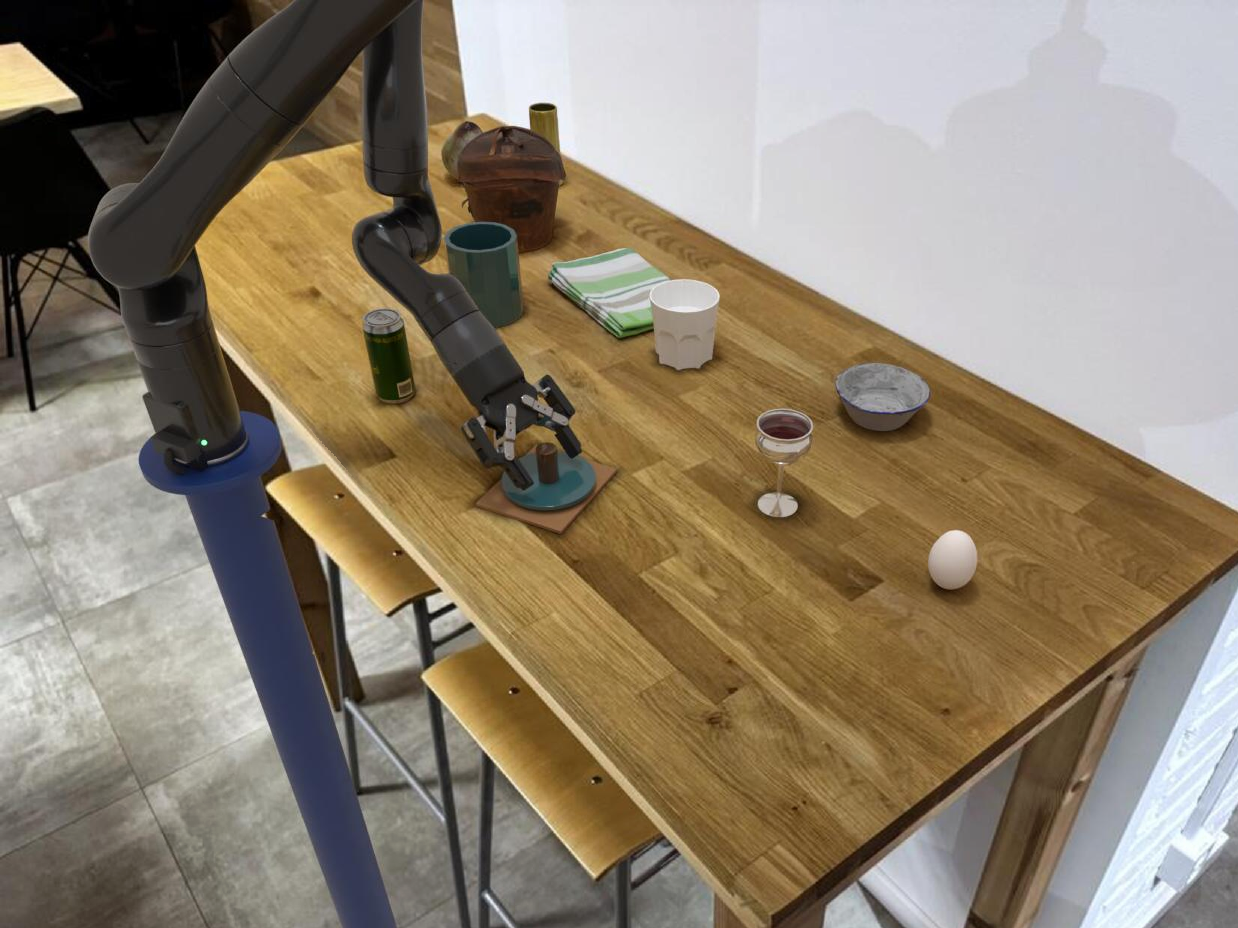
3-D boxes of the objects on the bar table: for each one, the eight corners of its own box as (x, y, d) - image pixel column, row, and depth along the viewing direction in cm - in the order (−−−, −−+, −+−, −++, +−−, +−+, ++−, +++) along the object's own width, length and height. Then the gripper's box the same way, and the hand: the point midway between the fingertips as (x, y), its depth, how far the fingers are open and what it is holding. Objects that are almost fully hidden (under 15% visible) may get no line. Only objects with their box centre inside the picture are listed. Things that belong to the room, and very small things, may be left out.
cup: (709, 336, 165) (711, 277, 158) (723, 370, 157) (726, 309, 151) (645, 341, 163) (644, 281, 156) (656, 376, 155) (656, 314, 149)
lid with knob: (565, 524, 128) (563, 487, 124) (483, 498, 132) (478, 460, 128) (612, 473, 136) (611, 436, 133) (534, 449, 140) (530, 412, 136)
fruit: (462, 193, 203) (454, 129, 195) (433, 178, 208) (424, 115, 200) (506, 179, 209) (499, 116, 201) (476, 165, 214) (469, 103, 206)
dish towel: (633, 259, 184) (633, 239, 182) (711, 313, 170) (712, 293, 168) (545, 283, 176) (543, 263, 174) (619, 343, 162) (618, 322, 160)
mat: (561, 534, 128) (560, 531, 127) (476, 506, 131) (475, 503, 131) (617, 471, 137) (617, 468, 137) (536, 447, 141) (536, 444, 141)
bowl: (881, 453, 142) (885, 422, 139) (812, 411, 150) (816, 381, 147) (943, 419, 149) (949, 389, 146) (875, 380, 156) (879, 351, 153)
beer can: (424, 391, 150) (411, 314, 143) (397, 409, 147) (382, 331, 139) (395, 380, 152) (381, 303, 145) (368, 397, 149) (351, 320, 141)
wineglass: (753, 522, 130) (758, 441, 123) (748, 488, 136) (753, 408, 128) (808, 521, 131) (817, 440, 123) (801, 487, 136) (809, 408, 128)
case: (521, 206, 199) (512, 107, 188) (591, 240, 189) (586, 138, 178) (440, 233, 189) (425, 131, 178) (510, 271, 179) (499, 165, 168)
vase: (525, 182, 208) (519, 107, 199) (547, 173, 212) (542, 99, 203) (549, 190, 205) (543, 115, 196) (570, 181, 209) (566, 106, 200)
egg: (931, 563, 126) (942, 513, 121) (975, 577, 124) (988, 526, 119) (917, 591, 122) (928, 540, 117) (963, 606, 120) (976, 555, 115)
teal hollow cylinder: (499, 334, 163) (490, 257, 155) (440, 318, 166) (429, 242, 158) (536, 305, 171) (529, 230, 163) (479, 290, 174) (470, 216, 166)
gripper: (445, 370, 122) (526, 489, 124) (533, 323, 131) (607, 435, 133) (420, 394, 127) (498, 507, 130) (506, 347, 136) (577, 454, 139)
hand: (553, 471), depth 131 cm, fingers open, 8 cm apart
